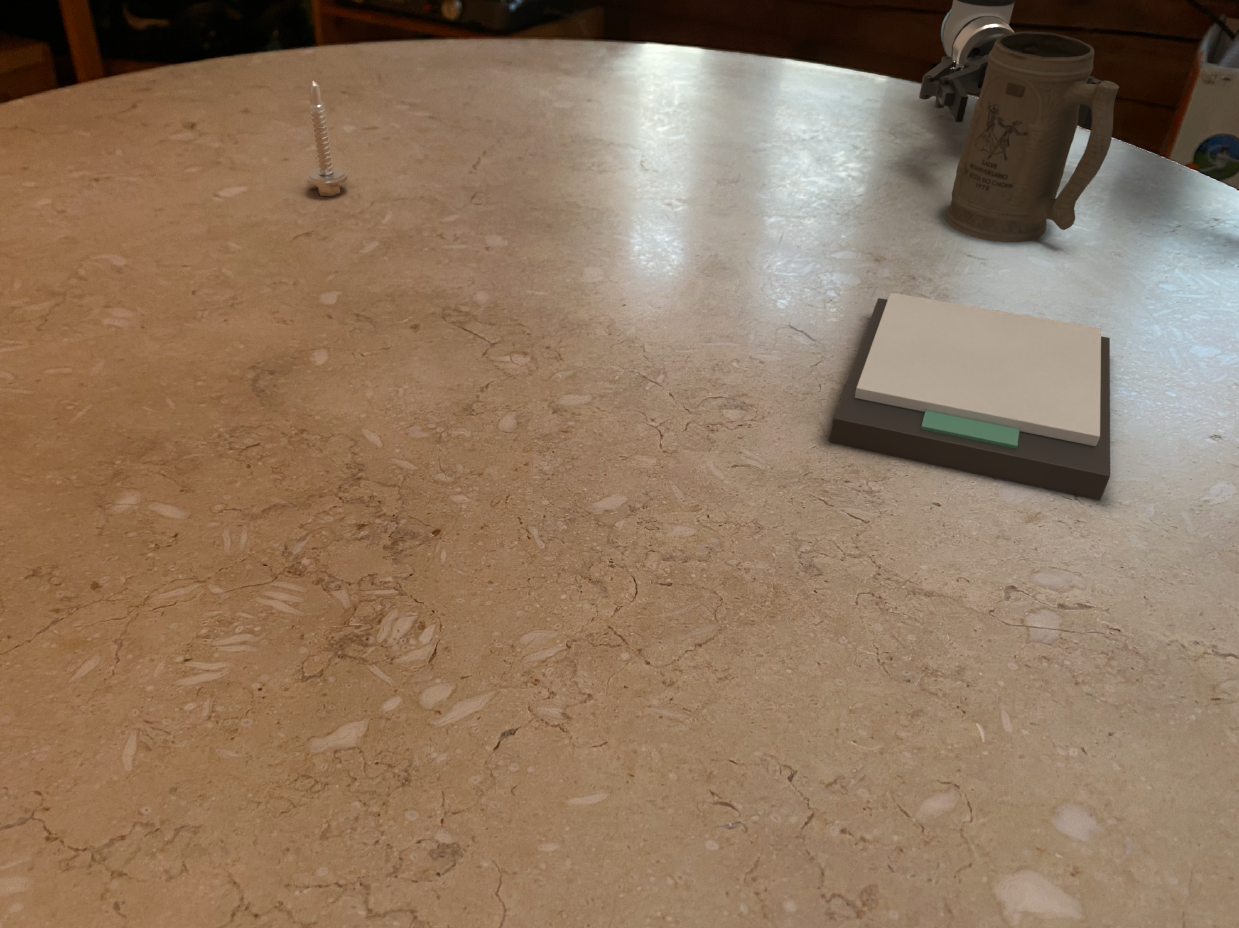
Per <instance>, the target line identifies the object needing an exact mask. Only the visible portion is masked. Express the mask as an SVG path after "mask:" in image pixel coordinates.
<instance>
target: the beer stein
mask: <svg viewBox="0 0 1239 928" xmlns="http://www.w3.org/2000/svg"><path fill="white" fill-rule="evenodd" d="M1094 58H1095V48H1094V47H1093V46H1092V45H1090V44H1089V43H1086V42H1085V41H1082V40H1080V39H1078V38H1075V37H1070V36H1067V35H1063V34H1058V33H1054V32H1045V31H1044V32H1043V31H1014V33H1009V34H1005V35H1002V36H1000V37H999V38H998V39H997V40H996V42H995V44H994V46H993V49H992V50H991V51H990V53H989V57H988V66H987V70H986V74H985V78H984V82H983V85H982V89H981V93H980V96H979V95H978V98H977V100H976V103H975V105H974V108H973V112H972V114H971V117H970V121H969V125H968V129H967V134H966V138H965V142H964V145H963V148H962V152H961V155H960V158H959V160H958V163H957V167H956V172H955V178H954V182H953V187H952V191H951V202H950V206H949V207H948V209H947V211H946V213H945V217H944V219H945V221H946V223H947V225H949V226H950V228H952V229H954V230H955V231H957V232H959V233H961V234H963V235H965V236H969V237H971V238H975V239H979V240H984V241H988V242H994V243H1023V242H1025V243H1026V242H1029V241H1034V240H1036V239H1040V238H1041V237H1043V236H1044V235H1045V233H1046V232H1047V225H1048V220H1050V221H1052V222H1054V223H1055V225H1056V226H1057V227H1058V228H1059V229H1060V230H1062V231H1065V230H1068V229H1070V228H1071V227H1073V225H1074V224H1075V221H1076V213H1075V212H1076V211H1075V206H1076V203H1077V201H1078V199H1079V198H1080V196H1081V195H1082V194H1083V192H1084V191H1085V189H1086V188H1088V186H1089V184H1090V183H1091V182H1092V181H1093V179H1094V178H1095V177H1096V176H1097V174H1098V173H1099V171H1100V169H1101V167H1102V166H1103V163H1104V161H1105V159H1106V158H1107V155H1108V152H1109V149H1110V147H1111V143H1112V139H1113V138H1112V137H1113V129H1114V107H1115V101H1116V96H1117V95H1118V91H1119V88H1120V86H1119V85H1118V84H1116V82H1113V81H1110V80H1102V81H1103V82H1101V83H1099V84H1087V81H1088V78H1089V76H1091V74H1092V72H1093V70H1094ZM1080 104H1083V105H1086V106H1088V107H1089V108H1090V109H1091V115H1092V124H1091V127H1090V132H1089V135H1088V140H1087V143H1086V146H1085V149H1084V150H1083V153H1082V155H1081V158H1080V160H1079V161H1078V162H1077V164H1076V167H1075V169H1074V171H1073V173H1072V174H1071V176H1070V177H1069V179H1068V180H1067V182H1066V184H1065V185H1064V186H1063V188H1062V189H1061V191H1060V192H1059V194H1058V191H1059V189H1060V186H1061V182H1062V179H1063V175H1064V172H1065V167H1066V164H1067V160H1068V157H1069V154H1070V151H1071V148H1072V144H1073V141H1074V139H1075V135H1076V132H1077V128H1078V123H1079V121H1078V115H1079V107H1080ZM1057 194H1058V195H1057Z"/></svg>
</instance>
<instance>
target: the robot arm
mask: <svg viewBox="0 0 1239 928" xmlns="http://www.w3.org/2000/svg"><path fill="white" fill-rule="evenodd" d="M1015 3H1016V0H952V5H951V9H950V10H949V11H948V12H947V13H946V15H945V16H944V19H943V21H942V23H941V30H940V37H941V42H942V47H943V50H944V52H945V54H946V56H942V57H941V61H940V63H938V64H936V66H934V67H933V68H932V69H930V70H929V71H927V72H926V73H925V74H924V75H923V76H922V81H921V85H920V90H919V95H918V98H919V99H920V100H929V99H930V98H932V97H935V99H934V104H933V106H934V108H936V109H944V108H945V107H947V108H948V110H949V112H950V114H951V116H952V118H953V120H954V122H955V123H963V121H964V117H965V113H966V110H967V105H968V101H969V95H968V94H967V93H971V94H975V96H978V97H979V96H980V93H981V89H982V85H983V82H984V78H985V74H986V70H987V66H988V57H989V53H990V51H991V50H992V49H993V46H994V44H995V42H996V40H997V39H998V38H999V37H1000V36H1002V35H1005V34H1009V33H1014V32H1015V31H1014V29H1012V27H1011V26H1010V22H1011V18H1012V15H1013V14H1012V13H1013V10H1014V6H1015ZM1103 81H1104V80H1101V79H1098V78H1096V77H1094V76H1092V75H1090V76H1089V78H1088V81H1087V84H1099V83H1101V82H1103ZM1078 123H1079V124H1080V125H1081V126H1082V127H1083V128H1091V124H1092V115H1091V109H1090V108H1089V107H1088V106H1086V105H1083V104H1080V107H1079V115H1078Z"/></svg>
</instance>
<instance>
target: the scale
mask: <svg viewBox="0 0 1239 928" xmlns="http://www.w3.org/2000/svg"><path fill="white" fill-rule="evenodd" d="M828 442H829V443H831V444H835V445H840V446H844V447H850V448H855V449H860V450H862V451H863V450H864V451H869V452H872V453H878V454H883V455H887V456H892V457H895V458H901V459H906V460H911V461H914V462H920V463H924V464H928V465H933V466H937V467H942V468H947V469H952V470H955V471H956V470H957V471H961V472H966V473H971V474H976V475H979V476H984V477H989V478H993V479H998V480H1003V481H1008V482H1013V483H1016V484H1021V485H1026V486H1031V487H1034V488H1035V487H1036V488H1040V489H1044V490H1049V491H1054V492H1059V493H1063V494H1067V495H1073V496H1078V497H1081V498H1086V499H1089V500H1095V501H1101V499H1102V498H1103V495H1104V492H1105V490H1106V488H1107V485H1108V482H1109V480H1110V478H1111V338H1110V337H1108V336H1103V335H1102V328H1101V327H1097V326H1090V325H1084V324H1080V323H1079V324H1078V323H1073V322H1067V321H1061V320H1056V319H1049V318H1043V317H1037V316H1032V315H1026V314H1020V313H1014V312H1008V311H1002V310H997V309H990V308H986V307H985V308H984V307H979V306H973V305H967V304H961V303H955V302H949V301H944V300H939V299H931V298H926V297H921V296H920V297H919V296H914V295H910V294H909V295H908V294H903V293H896V292H890V293H889V296H888V297H887V298H881V297H878V298H877V300H876V303H875V306H874V308H873V311H872V313H871V315H870V319H869V322H868V324H867V327H866V330H865V332H864V335H863V338H862V339H861V343H860V346H859V348H858V350H857V354H856V357H855V360H854V361H853V364H852V367H851V370H850V373H849V376H848V378H847V381H846V384H845V386H844V389H843V391H842V394H841V397H840V399H839V403H838V405H837V407H836V410H835V413H834V415H833V419H832V423H831V430H830V434H829V438H828Z"/></svg>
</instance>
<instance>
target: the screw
mask: <svg viewBox="0 0 1239 928" xmlns="http://www.w3.org/2000/svg"><path fill="white" fill-rule="evenodd" d="M307 85H308V92H309V101H310V102H309V103H310V106H308V108H310V111H309V114H310V117H309V118H310V119H311V122H310V124H311V125H312V127H311V129H312V130H313V132H312V135H314V137H313V140H314V142H313V144H314V145H315V147H314V150H316V152H315V155H317V156H316V160H317V161H318V162H316V164H317V165H318V167H317V168H314V169H312V170H310V171H309V172H308V173H307V174H306V176H305V177H306V182H307V183H308V184H310V185H313V186H316V187H317V191H318V194H319V196H320V197H329V198H330V197H334V196H337V195H339V194H341V187H340V185H341V184H342V183H344V182H346V181H347V180H348V176H349V175H348V172H347V171H345V170H344V169H343V168H341V167H337V166H334V163H333V160H334V159H333V158H332V156H333V153H332V148H331V146H332V145H331V143H330V141H331V139H330V138H329V136H330V134H329V132H328V131H329V128H328V125H329V124H328V122H327V121H328V118H327V117H326V116H327V112H325V111H326V107H325V106H324V105H325V102H324V101H323V100H322V94H321V88H320V84H318V83H317V82H316V81H315V80H312V81H310V82H309V83H308V84H307Z"/></svg>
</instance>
